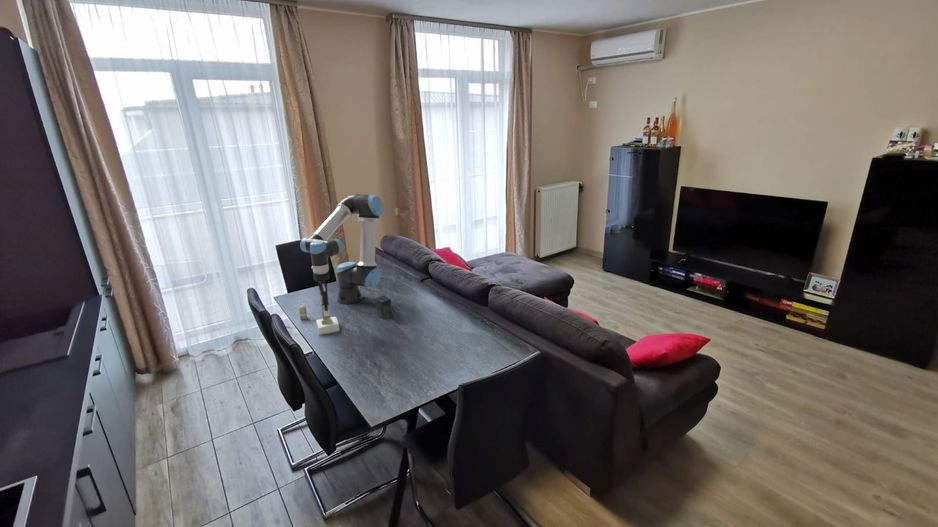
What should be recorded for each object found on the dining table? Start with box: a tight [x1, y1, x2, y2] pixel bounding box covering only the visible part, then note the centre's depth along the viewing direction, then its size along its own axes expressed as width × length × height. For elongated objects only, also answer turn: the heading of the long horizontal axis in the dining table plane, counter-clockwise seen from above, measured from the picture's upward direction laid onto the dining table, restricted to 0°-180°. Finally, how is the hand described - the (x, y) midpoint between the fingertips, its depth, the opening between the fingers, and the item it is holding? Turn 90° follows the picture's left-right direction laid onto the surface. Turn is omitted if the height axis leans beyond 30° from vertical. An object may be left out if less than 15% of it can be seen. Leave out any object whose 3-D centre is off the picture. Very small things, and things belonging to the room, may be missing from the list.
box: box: [374, 295, 393, 320], centre depth 229 cm, size 8×6×11 cm
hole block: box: [315, 316, 340, 336], centre depth 215 cm, size 10×10×4 cm
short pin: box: [298, 305, 308, 320], centre depth 227 cm, size 4×4×7 cm
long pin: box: [319, 295, 331, 322], centre depth 212 cm, size 4×4×14 cm
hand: (326, 314), depth 213 cm, fingers closed on long pin, 3 cm apart
